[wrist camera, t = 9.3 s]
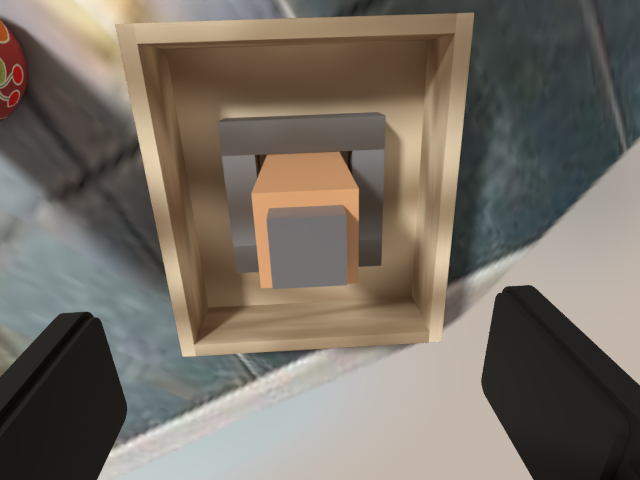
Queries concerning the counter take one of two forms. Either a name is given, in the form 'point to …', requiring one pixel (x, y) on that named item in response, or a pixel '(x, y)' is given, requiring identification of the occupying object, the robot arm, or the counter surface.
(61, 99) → the counter surface
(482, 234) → the counter surface
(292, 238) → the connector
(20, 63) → the smoothie
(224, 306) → the walled tray
